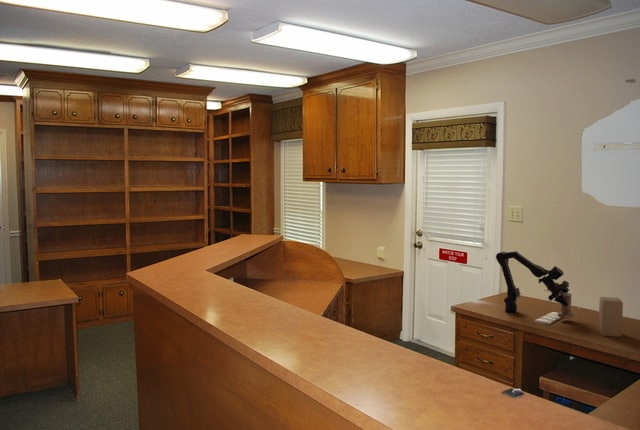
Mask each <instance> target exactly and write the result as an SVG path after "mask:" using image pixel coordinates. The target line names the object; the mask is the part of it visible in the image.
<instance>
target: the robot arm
mask: <svg viewBox="0 0 640 430" xmlns="http://www.w3.org/2000/svg"><path fill="white" fill-rule="evenodd" d="M495 259H496V261H497V263H498V264H499V266H500V267H501V270H502V274H503V277H504V280H505V284H506V287H507V289H506V294H507V296H506V298H504V299H503V302H504V303H505V306H504V307H505V308H504V310H505V311H504V312H505V313H513V314H514V313H516V312H517V311H518V310H517V307H518V306H517V305H518V304H517V301H518V300H519V299H520V298H521V292H520V288H519V287H517V286H516V285H515V283H514V279H513V276H512V272H511V269H510V266H509V261H510V259H514V260H516V261H517V262H519V264H521V265H523V266H524V267H526V268H527V269H528V270H529V271H530V272H531V274H532V275H533V276H534V277H535V278H538V284H541V283H542V284H543V285H544V286H545V287H546V288H547V289H546V290H547V291H549V292H550V293H551V294H550V295H548V297H547V299H548V300H549V301H550V302H552V301H554V302H557V303H558V304H561V306H562V305H564V306H566V307H567V306H568V305H567V303H566V302H565V300H564V299H563V293H569V292H570V289H569V288H570V282H568V281H567V280H563V281H561V282H562V283H559V282H556V281H557V280H559V279H560V278H561V277H563V276H564V275H565V273H564V271H563V270H562V269H561V268H559V267H558V266H556V265H555V266H553V268H552V269H550V270H549V269H546V268H545V267H542V266H540V265H538V264H535V263H533V262H532V261H531V260H529V259H528V258H526V257H525V256H524V255H522V254H521V253H519V252H518V251H516V250H514V251H509V252H506V251H500V252H498V253H497V254H496V255H495Z"/></svg>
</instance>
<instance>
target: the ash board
mask: <svg viewBox="0 0 640 430" xmlns="http://www.w3.org/2000/svg"><path fill="white" fill-rule="evenodd" d="M558 313H559V312H555V311H551V312H550V313H546V314H545V315H543V316H541V317H539V318H537V319H535V320H534V323H537V324H542V325H546V326H549V325H551V324H553V323H555V322H557V321H559V320H561V319H562V318H563V317H558Z"/></svg>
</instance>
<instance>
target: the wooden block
mask: <svg viewBox="0 0 640 430" xmlns="http://www.w3.org/2000/svg"><path fill="white" fill-rule="evenodd" d="M598 305H599V308H598V310H599V311H598V332H599V333H600V335H601V336H602V337H614V338H621V337H622V334H623V332H622V331H623V312H624V311H623V310H624V309H623V308H624V307H623V306H624V302H623V301H622V300H621V299H620V298H619V297H609V296H600V297H599V303H598Z"/></svg>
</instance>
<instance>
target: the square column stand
mask: <svg viewBox="0 0 640 430" xmlns="http://www.w3.org/2000/svg"><path fill="white" fill-rule="evenodd" d="M563 299H564V300H565V302H566V303H567V305H568V306H567V307H566V306H564V305H562V304H561V310H560V312H557V313H558V317H563V318H564V319H568V320H570V319H572V318H574V317H575V312H572V293H569V292H568V293H563Z"/></svg>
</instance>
